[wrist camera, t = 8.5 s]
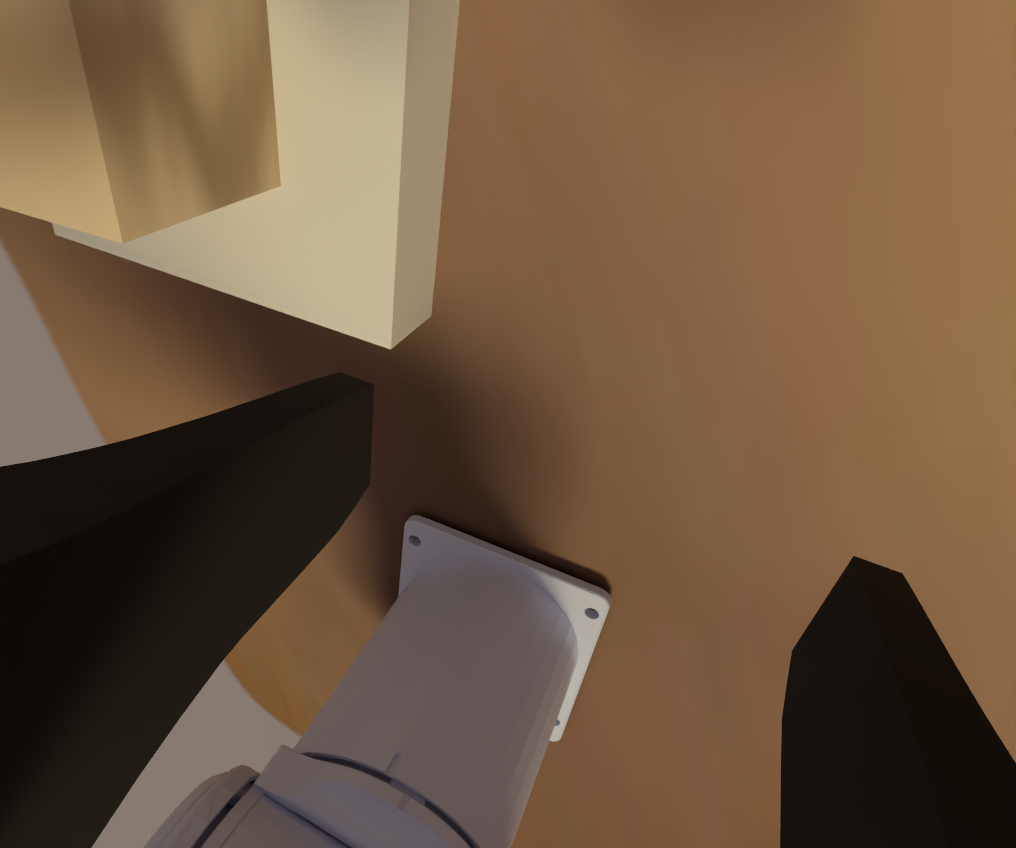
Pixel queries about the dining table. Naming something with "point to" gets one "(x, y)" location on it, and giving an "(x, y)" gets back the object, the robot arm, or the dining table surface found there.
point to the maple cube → (134, 111)
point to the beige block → (335, 174)
